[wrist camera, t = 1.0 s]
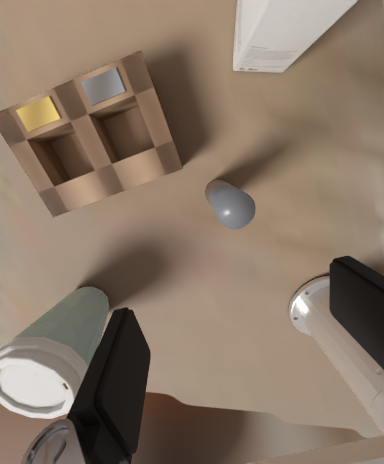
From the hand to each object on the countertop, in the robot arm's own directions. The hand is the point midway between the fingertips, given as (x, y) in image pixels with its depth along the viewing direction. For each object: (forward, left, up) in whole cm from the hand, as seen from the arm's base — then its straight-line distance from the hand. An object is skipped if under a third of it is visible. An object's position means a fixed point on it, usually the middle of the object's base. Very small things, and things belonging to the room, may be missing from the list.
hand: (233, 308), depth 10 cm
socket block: (+8, -11, -22) cm, 26 cm away
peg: (-3, -1, -22) cm, 22 cm away
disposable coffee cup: (+23, +9, -22) cm, 33 cm away
